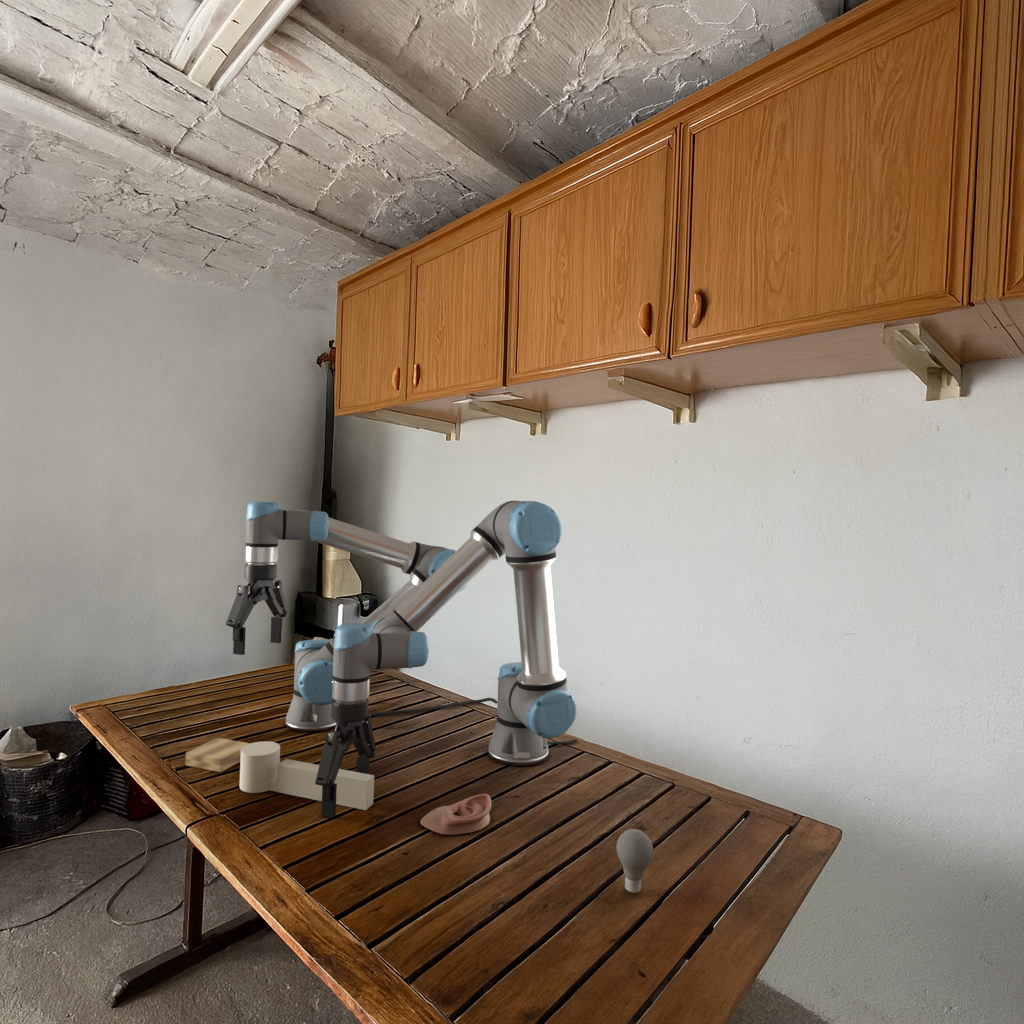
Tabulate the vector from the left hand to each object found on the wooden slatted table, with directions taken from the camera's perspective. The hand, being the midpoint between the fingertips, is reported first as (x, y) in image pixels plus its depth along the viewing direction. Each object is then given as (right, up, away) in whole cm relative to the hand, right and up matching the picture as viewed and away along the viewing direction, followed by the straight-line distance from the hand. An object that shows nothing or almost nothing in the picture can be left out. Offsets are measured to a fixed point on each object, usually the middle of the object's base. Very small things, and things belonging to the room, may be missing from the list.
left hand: (258, 648), depth 158 cm
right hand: (+29, -26, -26) cm, 47 cm away
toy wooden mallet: (+19, -26, -23) cm, 40 cm away
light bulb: (+84, -29, -52) cm, 103 cm away
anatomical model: (+52, -28, -32) cm, 67 cm away
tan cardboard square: (-6, -25, -9) cm, 27 cm away
